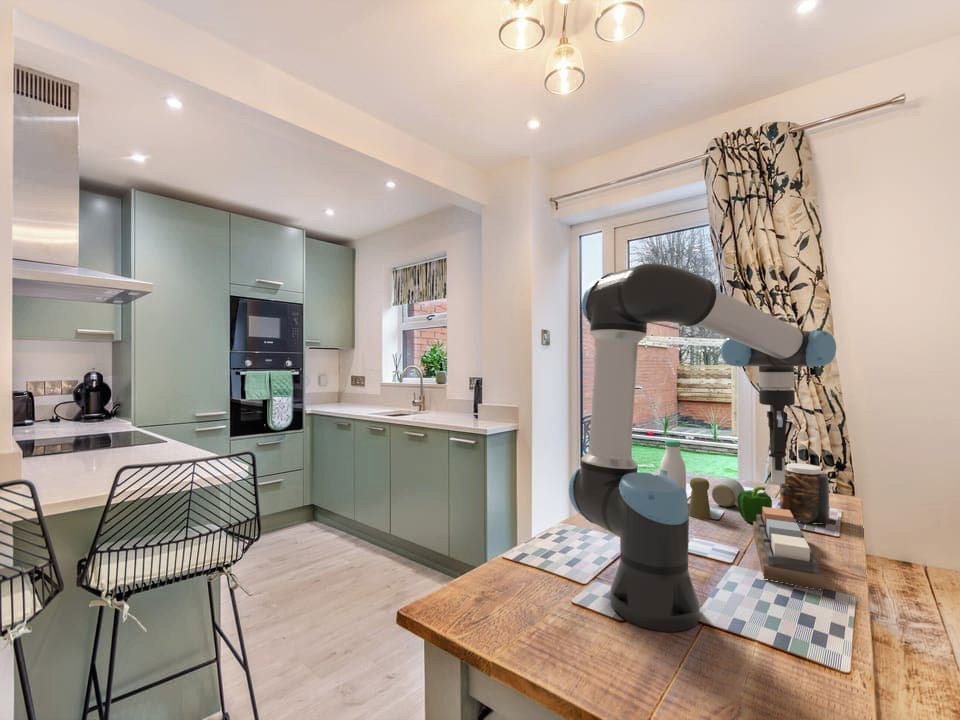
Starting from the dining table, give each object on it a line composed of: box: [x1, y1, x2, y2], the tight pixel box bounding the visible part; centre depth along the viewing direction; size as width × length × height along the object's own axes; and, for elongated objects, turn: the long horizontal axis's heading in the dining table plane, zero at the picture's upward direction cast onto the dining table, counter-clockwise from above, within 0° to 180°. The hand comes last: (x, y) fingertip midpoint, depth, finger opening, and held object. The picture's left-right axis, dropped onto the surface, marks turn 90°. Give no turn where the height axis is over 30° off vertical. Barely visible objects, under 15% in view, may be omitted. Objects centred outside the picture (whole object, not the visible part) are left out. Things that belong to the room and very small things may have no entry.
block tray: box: [752, 514, 825, 591], centre depth 104 cm, size 30×10×5 cm, turn 153°
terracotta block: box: [762, 507, 794, 524], centre depth 114 cm, size 6×6×3 cm
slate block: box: [766, 519, 802, 539], centre depth 104 cm, size 6×6×3 cm
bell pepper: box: [738, 486, 773, 524], centre depth 128 cm, size 8×8×10 cm
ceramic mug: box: [711, 478, 745, 508], centre depth 142 cm, size 11×8×8 cm
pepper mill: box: [688, 477, 712, 520], centre depth 133 cm, size 6×6×11 cm
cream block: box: [771, 533, 811, 561], centre depth 95 cm, size 6×6×3 cm
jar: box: [779, 462, 830, 524], centre depth 131 cm, size 12×12×15 cm
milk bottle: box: [659, 439, 687, 493], centre depth 146 cm, size 8×8×20 cm
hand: (778, 482), depth 114 cm, fingers closed
